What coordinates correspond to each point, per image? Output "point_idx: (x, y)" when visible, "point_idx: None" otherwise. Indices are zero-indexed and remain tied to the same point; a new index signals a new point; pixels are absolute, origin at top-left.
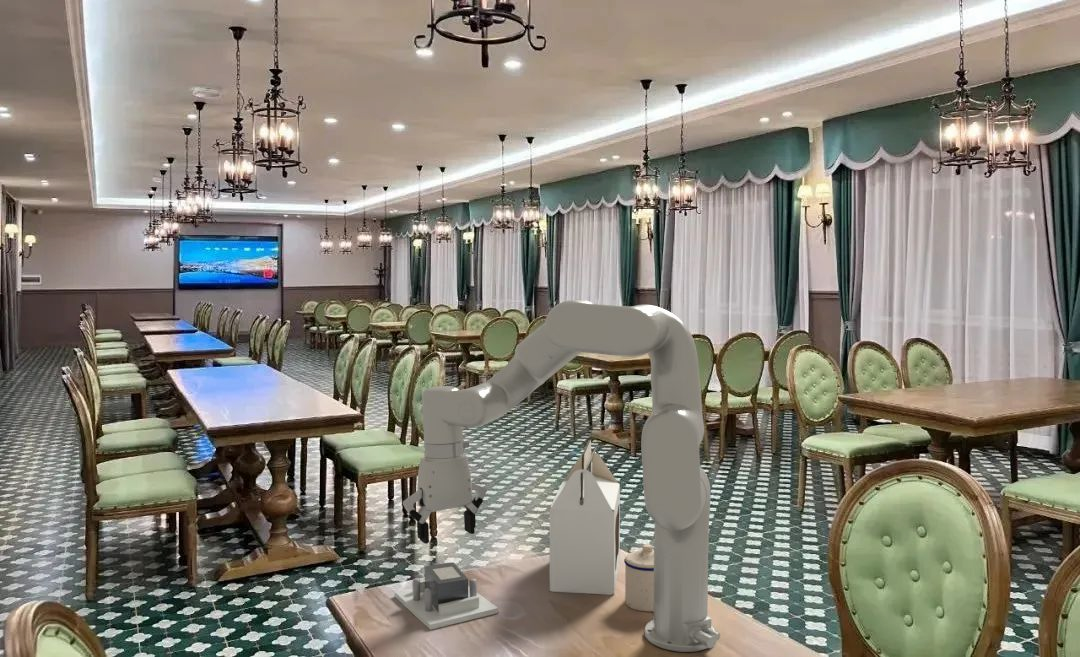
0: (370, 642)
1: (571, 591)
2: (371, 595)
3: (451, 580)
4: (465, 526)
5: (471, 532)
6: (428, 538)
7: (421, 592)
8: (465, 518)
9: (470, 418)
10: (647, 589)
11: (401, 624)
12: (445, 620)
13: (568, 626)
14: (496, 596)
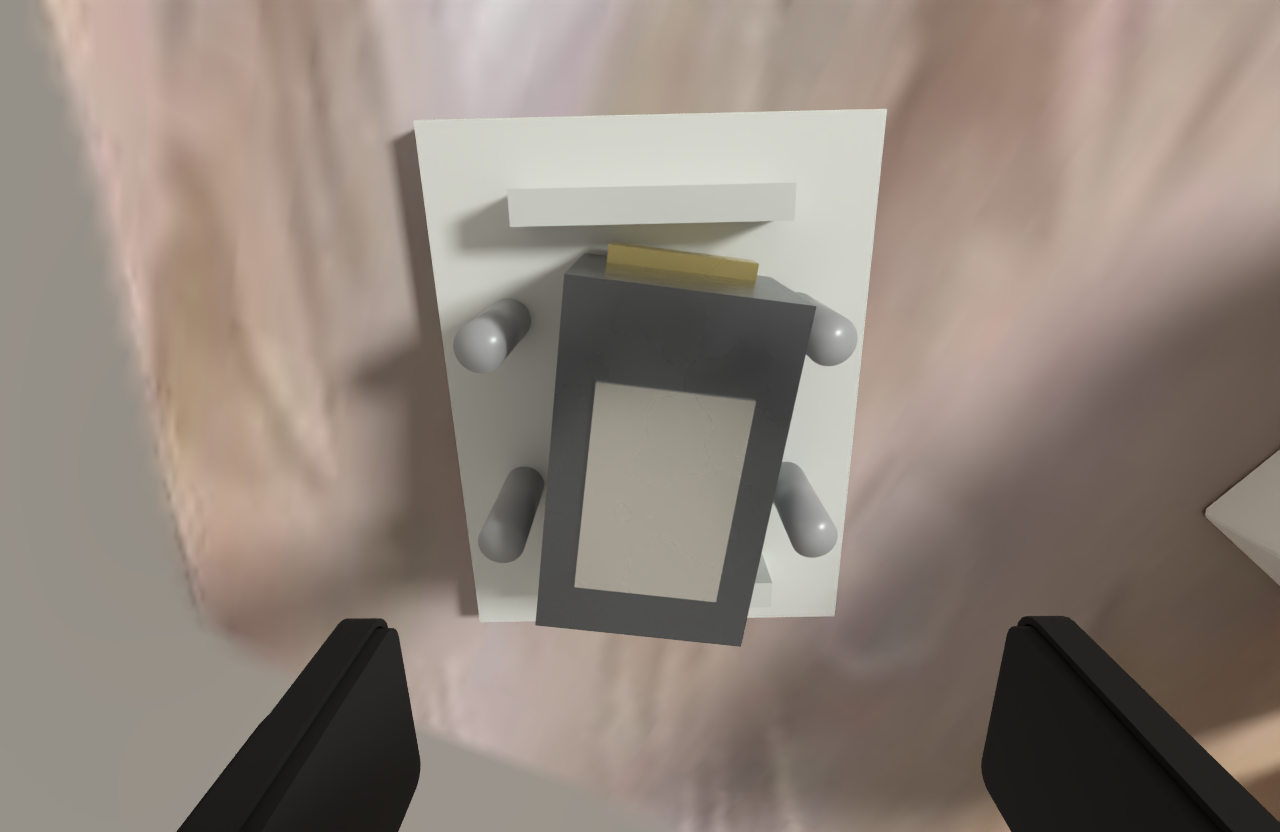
0: (215, 592)
1: (1272, 577)
2: (282, 11)
3: (636, 619)
4: (1043, 688)
5: (993, 792)
6: (394, 823)
7: (569, 230)
8: (1130, 821)
9: None
10: None
11: (379, 498)
12: None
13: (983, 807)
14: (941, 429)
